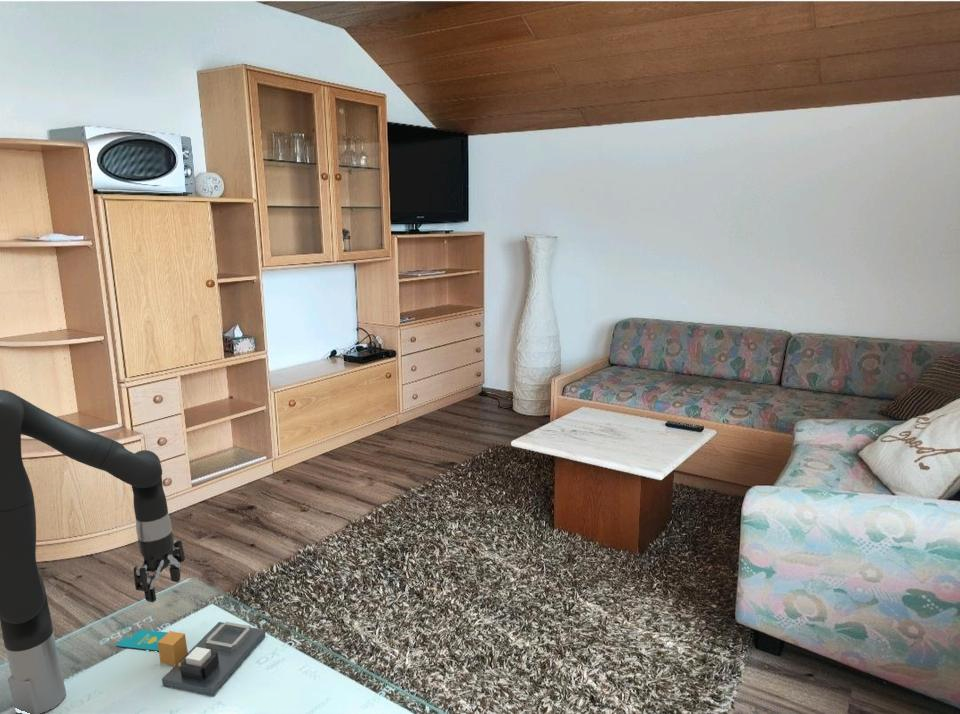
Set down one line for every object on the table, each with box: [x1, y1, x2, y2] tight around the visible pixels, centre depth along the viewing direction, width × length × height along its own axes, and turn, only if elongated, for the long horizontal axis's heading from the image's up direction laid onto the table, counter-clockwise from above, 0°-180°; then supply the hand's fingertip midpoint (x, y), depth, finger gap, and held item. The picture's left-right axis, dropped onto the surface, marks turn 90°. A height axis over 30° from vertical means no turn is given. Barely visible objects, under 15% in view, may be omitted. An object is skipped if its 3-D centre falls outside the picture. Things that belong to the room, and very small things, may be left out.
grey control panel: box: [161, 621, 266, 697], centre depth 167 cm, size 22×14×5 cm, turn 165°
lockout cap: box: [158, 630, 189, 666], centre depth 168 cm, size 4×4×6 cm
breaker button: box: [186, 647, 211, 667], centre depth 161 cm, size 4×4×4 cm
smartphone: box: [116, 629, 169, 653], centre depth 175 cm, size 7×1×15 cm
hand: (164, 590), depth 164 cm, fingers open, 8 cm apart
